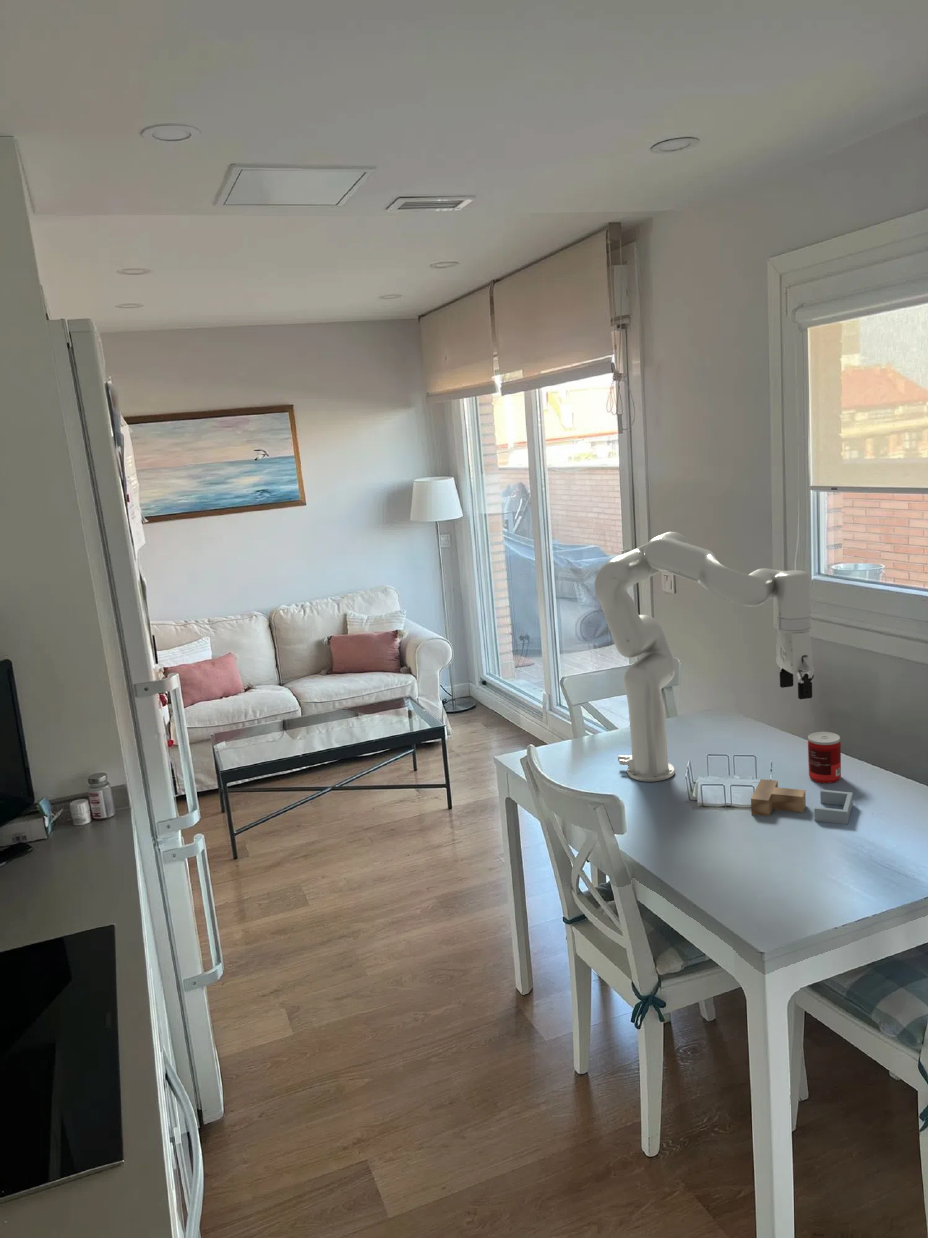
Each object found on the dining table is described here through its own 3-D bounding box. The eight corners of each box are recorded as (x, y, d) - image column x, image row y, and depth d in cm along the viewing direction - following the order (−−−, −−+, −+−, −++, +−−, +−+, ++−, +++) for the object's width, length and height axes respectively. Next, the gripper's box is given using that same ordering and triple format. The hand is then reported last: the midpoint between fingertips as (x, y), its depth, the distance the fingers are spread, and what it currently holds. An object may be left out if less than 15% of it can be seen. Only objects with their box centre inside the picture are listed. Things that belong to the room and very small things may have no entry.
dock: (814, 820, 206) (814, 808, 205) (821, 801, 215) (820, 789, 215) (847, 824, 203) (847, 812, 202) (852, 804, 212) (852, 792, 211)
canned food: (835, 770, 231) (834, 730, 229) (845, 783, 224) (844, 741, 221) (804, 772, 232) (804, 732, 230) (813, 784, 225) (812, 743, 222)
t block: (751, 814, 212) (750, 798, 212) (761, 794, 223) (760, 779, 222) (800, 820, 207) (799, 804, 206) (808, 799, 217) (807, 783, 216)
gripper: (763, 617, 219) (765, 684, 223) (795, 633, 202) (797, 705, 206) (793, 614, 220) (794, 680, 223) (827, 629, 203) (828, 701, 206)
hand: (795, 692), depth 215 cm, fingers open, 9 cm apart
